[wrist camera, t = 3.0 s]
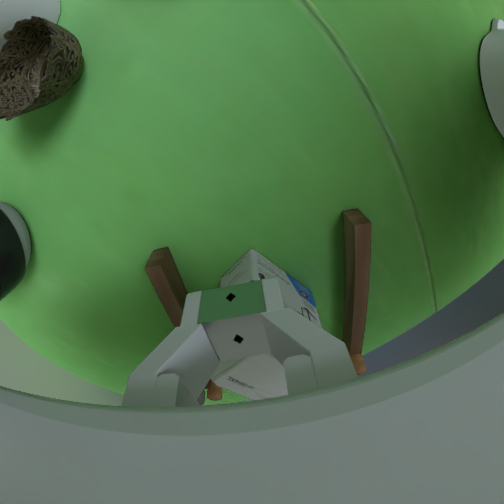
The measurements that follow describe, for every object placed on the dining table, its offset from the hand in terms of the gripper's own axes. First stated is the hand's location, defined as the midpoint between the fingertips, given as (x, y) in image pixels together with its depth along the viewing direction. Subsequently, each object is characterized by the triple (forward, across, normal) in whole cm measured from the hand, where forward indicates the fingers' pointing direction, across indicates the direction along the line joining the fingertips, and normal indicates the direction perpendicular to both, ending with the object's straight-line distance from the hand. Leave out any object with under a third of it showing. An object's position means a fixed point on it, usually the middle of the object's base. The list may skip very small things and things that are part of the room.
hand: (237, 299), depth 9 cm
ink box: (+15, -1, +11) cm, 18 cm away
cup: (+15, +11, -15) cm, 24 cm away
